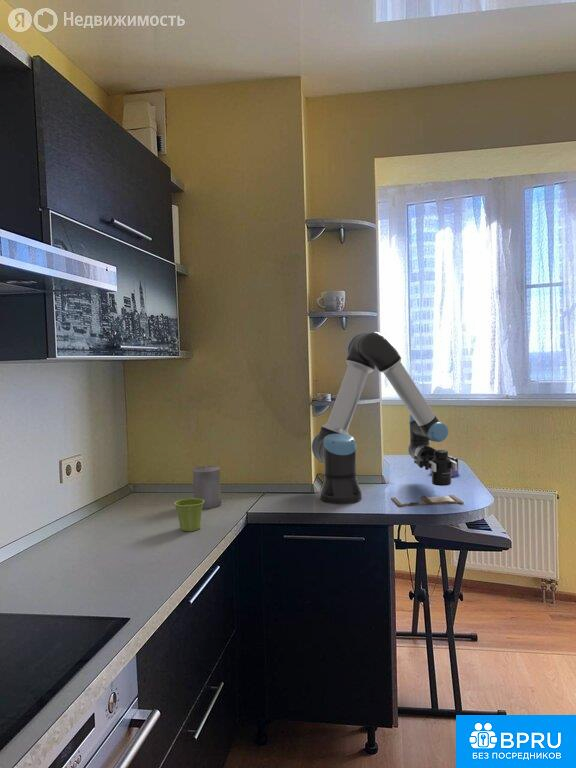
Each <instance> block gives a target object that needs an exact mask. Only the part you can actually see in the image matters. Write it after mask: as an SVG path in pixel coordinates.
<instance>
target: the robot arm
mask: <svg viewBox="0 0 576 768" xmlns="http://www.w3.org/2000/svg"><path fill="white" fill-rule="evenodd" d="M347 353H348V354H347V357H346V360H345V362H346V364H347V368H346V371H345V374H344V376H343V379H342V382H341V383H340V387H339V389H338V393H337V395H336V398H335V400H334V403H333V406H332V409H331V411H330V414H329V417H328V420H327V422H326V423H325V424H322V425H321V427H320V430H319V432H318V434H317V435H316V436H314V437H313V439H312V442H311V452H312V454H313V456H314V457H315V459H316V460H317V461H318V462H320V463H323V464H324V480H323V483H322V486H321V490H320V500H321V501H322V502H325V503H328V504H335V505H338V504H342V505H343V504H353V503H358V502H360V501H361V500H362V499H363V498H362V497H363V496H362V490H361V487H360V485H359V482H358V479H357V453H356V452H357V444H356V439H355V437H354V436H352V435H350V433H349V428H350V425H351V422H352V421H353V417H354V414H355V411H356V409H357V407H358V404H359V402H360V398H361V395H362V392H363V390H364V388H365V384H366V383H367V379H368V376H369V374H370V373H372V372H374V371H375V368H376V369H377V370H378V372H379V373H383V374H384V376H385V378H386V379H387V381H388V382H389V383H390V385H391V386H392V388H393V389H394V391H395V393H396V394H397V395H398V397H399V399H400V400H401V402H402V403H403V404H404V406H405V407H406V409H407V411H408V412H409V413H410V415H409V422H408V424H409V436H410V438H409V442H410V443H409V445H408V448H407V452H408V454H409V456H410V457H411V458H412V459H413V461H414V462H413V463H414V464H416V465H417V466H418V467H419V468H421V469H423V468H425V470H426V471H430V470H429V469H431V470H432V471H434V472H436V464H435V463H434V462H432V459H433V458H435V456H434V451H435V450H436V448H434V447H432V446H430V441H431V442H433V443H434V442H435V443H436V442H437V443H441V442H444V441H445V440H446V439H447V437H448V435H449V428H448V426H447V425H446V424H445V423H443V422H441V421H440V420H439V418H438V417H437V416H436V414H435V413H434V411H433V410H432V408H431V407H430V405H429V404H428V401H426V399H425V397H424V396H423V394H422V392H421V391H420V389H419V388H418V387H417V385H416V383H415V382H414V380H413V379H412V377H411V376H410V374H409V372H408V371H407V370H406V368H405V366H404V365H403V363H402V362H401V361H402V356H401V355H400V354H399V351H398V350H397V348H396V347H395V346H394V344H393V343H392V342H391V340H390V339H389V338H388V337H387V336H385V334H383V333H380V332H377V331H372V332H362V333H358V334H356V335H355V336H353V337H352V338H351V339H350V341H349V342H348V345H347ZM447 458H449V459H450V460H451V469H453V470H455V471H457V466H458V467H459V458H456V457H454V456H451V455H450V454H448V457H447Z"/></svg>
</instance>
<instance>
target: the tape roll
mask: <svg viewBox="0 0 576 768" xmlns="http://www.w3.org/2000/svg"><path fill="white" fill-rule="evenodd" d="M429 472H430V473H429V474H430V475H431V474H432V470H431V469H430V470H429ZM455 475H457V476H458V475H459V465H458V466H457V471H455V470H453V469H451V476H452V477H456V476H455Z"/></svg>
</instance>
